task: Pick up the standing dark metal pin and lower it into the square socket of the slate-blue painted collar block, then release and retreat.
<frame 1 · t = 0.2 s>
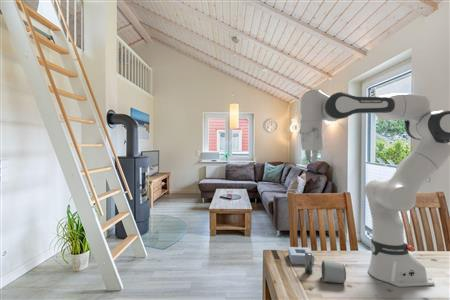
hand: (311, 161, 111), 47 cm above the table, fingers open, 8 cm apart
ceramic mug: (331, 280, 105), on the table
pin: (308, 272, 111), on the table
collar block: (300, 259, 124), on the table
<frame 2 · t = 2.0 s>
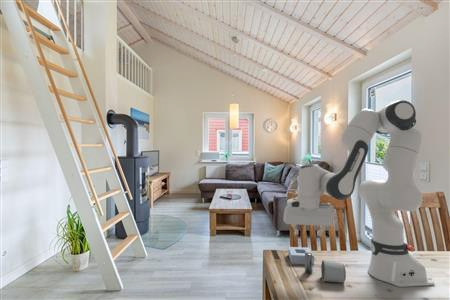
hand: (307, 235, 111), 16 cm above the table, fingers open, 8 cm apart
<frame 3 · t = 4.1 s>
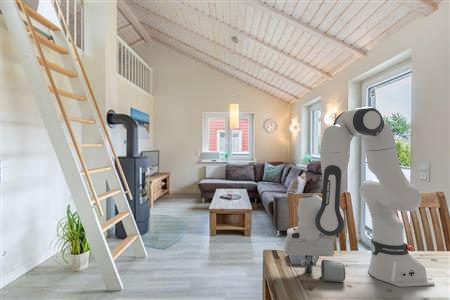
hand: (308, 265, 111), 3 cm above the table, fingers closed on pin, 3 cm apart
pin: (308, 272, 111), on the table, touching gripper
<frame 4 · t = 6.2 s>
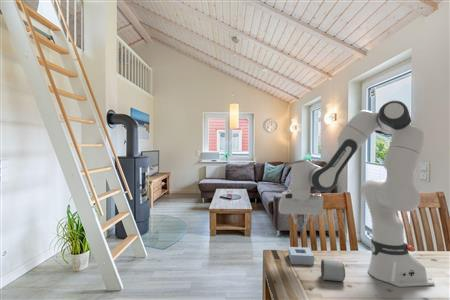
hand: (300, 223, 123), 17 cm above the table, fingers closed on pin, 3 cm apart
pin: (300, 230, 123), point 14 cm above the table, touching gripper
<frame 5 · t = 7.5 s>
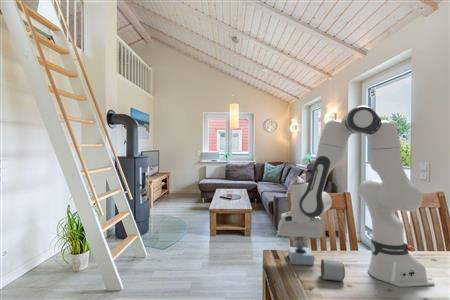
hand: (299, 245, 123), 7 cm above the table, fingers closed on pin, 3 cm apart
pin: (299, 252, 123), point 3 cm above the table, touching gripper
when the fingers open (5 cm above the table, at t = 8.5 s): pin drops 1 cm, resting in collar block.
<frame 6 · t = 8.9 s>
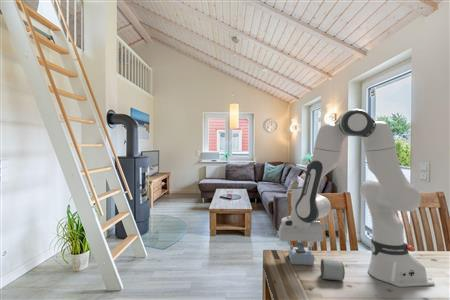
hand: (300, 249, 124), 5 cm above the table, fingers open, 7 cm apart
pin: (300, 259, 123), resting in collar block
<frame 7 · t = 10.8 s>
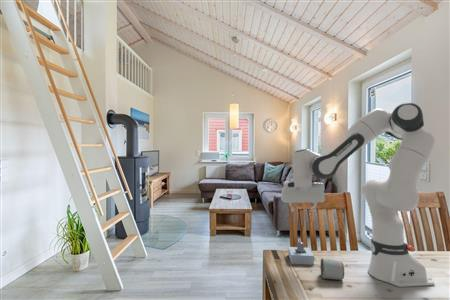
hand: (303, 211, 126), 22 cm above the table, fingers open, 8 cm apart
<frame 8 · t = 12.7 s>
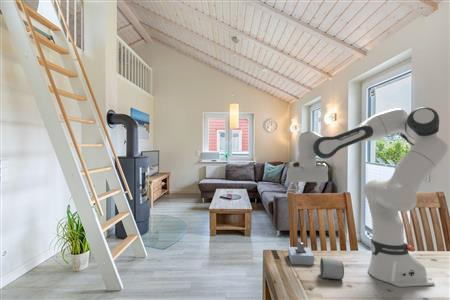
hand: (306, 190, 133), 31 cm above the table, fingers open, 8 cm apart
at the end: pin 0.2 cm from the collar block (horizontally); pin resting in collar block; pin tilted 1° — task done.
